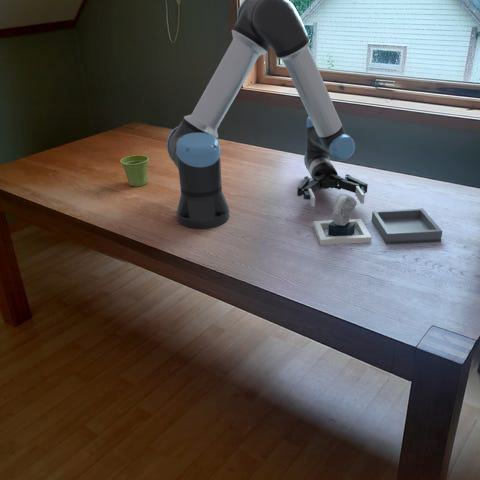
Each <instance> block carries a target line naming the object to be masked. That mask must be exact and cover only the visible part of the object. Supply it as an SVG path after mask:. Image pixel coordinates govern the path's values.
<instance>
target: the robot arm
mask: <svg viewBox="0 0 480 480" xmlns="http://www.w3.org/2000/svg"><path fill="white" fill-rule="evenodd" d="M236 16H237V18H236V22H235V24H234V26H233V28H232V29H231V33H232V34H231V35H232V40H231V42H230V45H229V46H228V48H227V50H226V52H225V53H224V55H223V57H222V59H221V60H220V63H218V66H217V68H216V70H215V71H214V73H213V75H212V76H211V79H209V82H208V84H207V85H206V87H205V90H204V91H203V93H202V95H201V97H200V98H199V100H198V101H197V104H196V105H195V107H194V110H193V111H192V113H191V114H188V115H184V116H183V118H182V120H181V122H180V123H179V125H177V126H176V127H175V128H173V129H172V130H171V131H170V133H169V135H168V137H167V141H166V148H167V153H168V156H169V158H170V159H171V161H172V162H173V163H174V165H175V167H176V168H177V169H178V175H179V187H180V197H179V201H178V205H177V208H176V209H177V210H176V219H177V222H178V223H179V224H180V225H182V226H184V227H187V228H192V229H208V228H213V227H217V226H220V225H222V224H224V223H225V222H227V221H229V219H230V208H229V205H228V202H227V200H226V197H225V194H224V193H223V186H222V185H223V184H222V168H221V147H220V142H219V140H218V138H219V134H218V128H219V127H220V124H222V123H221V122H223V120H224V118H225V115H226V114H227V112H228V111H229V109H230V107H231V105H232V104H233V102H234V100H235V99H236V97H237V95H238V93H239V92H240V90H241V88H242V87H243V84H244V83H245V82H246V80H247V77H248V76H249V75H250V72H251V71H252V69H253V67H254V65H255V64H256V63H257V60H258V59H259V58H260V56H263V55H266V54H268V52H269V51H270V48H271V49H272V50H273V52H274V55H275V56H276V58H277V59H279V60H282V62H283V64H284V66H285V68H286V70H287V73H288V74H289V77H290V79H291V81H292V84H293V85H294V88H295V90H296V92H297V94H298V96H299V98H300V100H301V102H302V105H303V107H304V108H305V109H304V110H305V111H306V113H307V114H308V117H307V118H306V127H305V130H306V134H305V136H306V138H305V139H306V140H305V141H306V142H305V143H306V146H305V147H306V150H305V154H304V157H303V161H304V166H305V167H306V170H307V171H308V173H309V175H310V177H309V176H304V177H303V180H302V182H301V183H300V184H299V185H298V186H297V187H296V188H297V189H296V193H297V194H296V195H297V197H302V196H303V200H307V201H309V203H310V205H311V207H316V197H315V194H314V193H316V192H317V191H321V190H322V189H323V190H326V189H327V190H328V189H336V190H339V191H340V190H344V191H347V192H351V193H354V194H355V196H356V199H357V200H358V201H359V203H360V205H364V204H365V197H366V196H365V195H366V193H368V187H369V186H368V185H369V184H368V183H366V182H365V181H361V180H359V179H358V178H355V177H354V176H353V177H352V176H351V175H350V174H347V173H346V174H345V176H344V177H342V176H340V175H339V174H338V171H337V170H336V168H335V166H334V165H333V164H332V161H331V160H330V158H332V159H334V160H337V161H345V160H348V159H350V157H351V156H352V155H353V154H354V152H355V151H356V150H355V149H356V143H355V141H354V139H353V138H352V136H351V135H349V134H347V133H346V130H345V128H344V126H343V124H342V121H341V119H340V118H339V114H338V112H337V110H336V108H335V106H334V103H333V101H332V98H331V96H330V94H329V91H328V89H327V87H326V84H325V82H324V80H323V78H322V75H321V73H320V70H319V68H318V66H317V63H316V61H315V58H314V57H313V54H312V52H311V49H310V47H309V44H310V41H311V39H310V37H309V34H308V32H307V30H306V28H305V25H304V23H303V21H302V18H301V16H300V14H299V12H298V11H297V9H296V7H295V5H294V4H293V3H292V2H291V1H290V0H243V2H242V3H240V6H239V8H238V11H237V15H236Z"/></svg>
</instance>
